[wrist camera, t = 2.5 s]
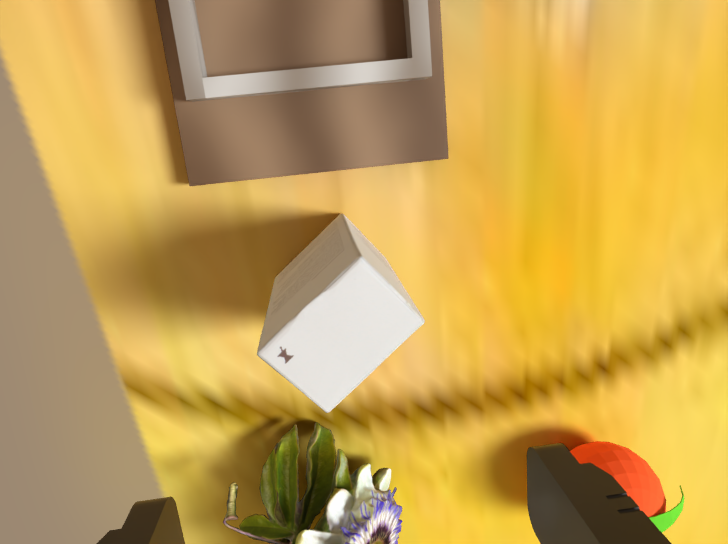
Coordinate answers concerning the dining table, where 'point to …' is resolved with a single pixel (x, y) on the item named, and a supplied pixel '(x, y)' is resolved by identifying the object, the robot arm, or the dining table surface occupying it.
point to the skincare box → (335, 315)
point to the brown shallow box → (304, 85)
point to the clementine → (631, 479)
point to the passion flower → (320, 498)
